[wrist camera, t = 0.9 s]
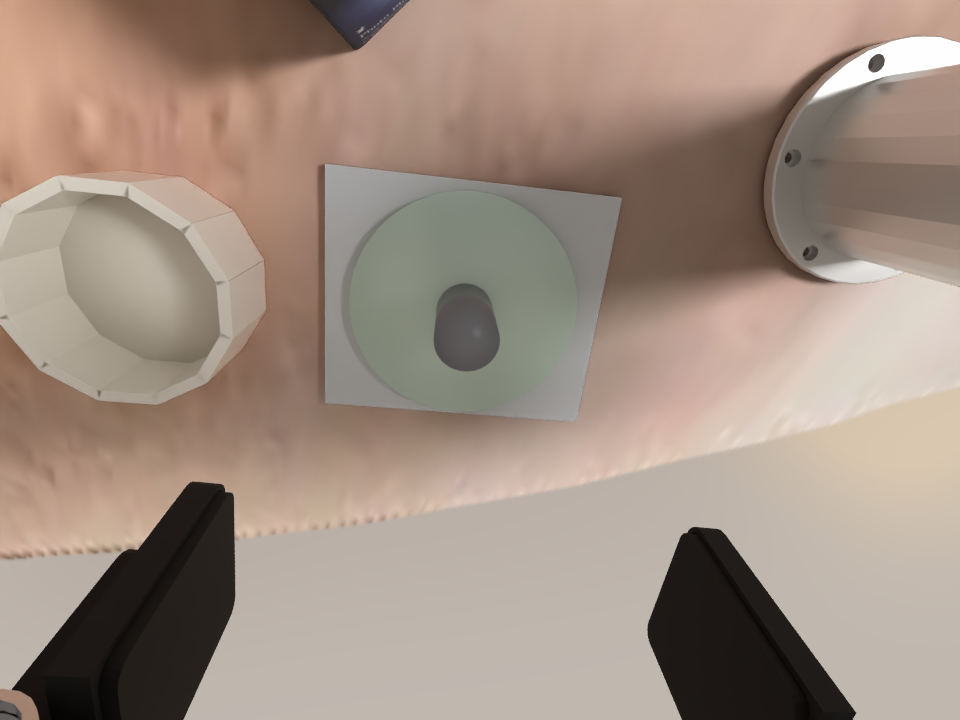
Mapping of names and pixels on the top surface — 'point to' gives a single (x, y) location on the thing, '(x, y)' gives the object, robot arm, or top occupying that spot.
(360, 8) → the small box
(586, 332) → the mat
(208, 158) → the top surface
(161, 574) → the robot arm
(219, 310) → the bowl
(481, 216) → the lid
